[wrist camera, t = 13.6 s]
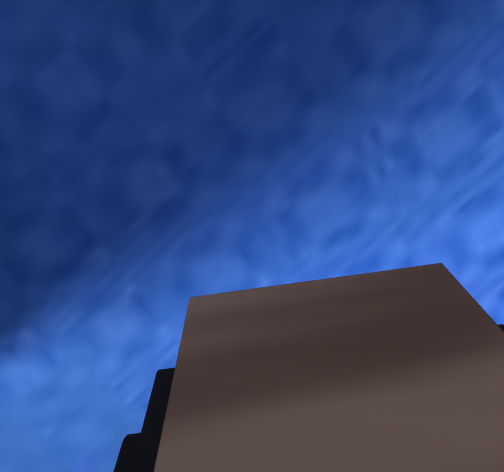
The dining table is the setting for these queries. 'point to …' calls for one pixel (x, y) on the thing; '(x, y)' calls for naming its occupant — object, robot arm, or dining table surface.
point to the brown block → (338, 379)
